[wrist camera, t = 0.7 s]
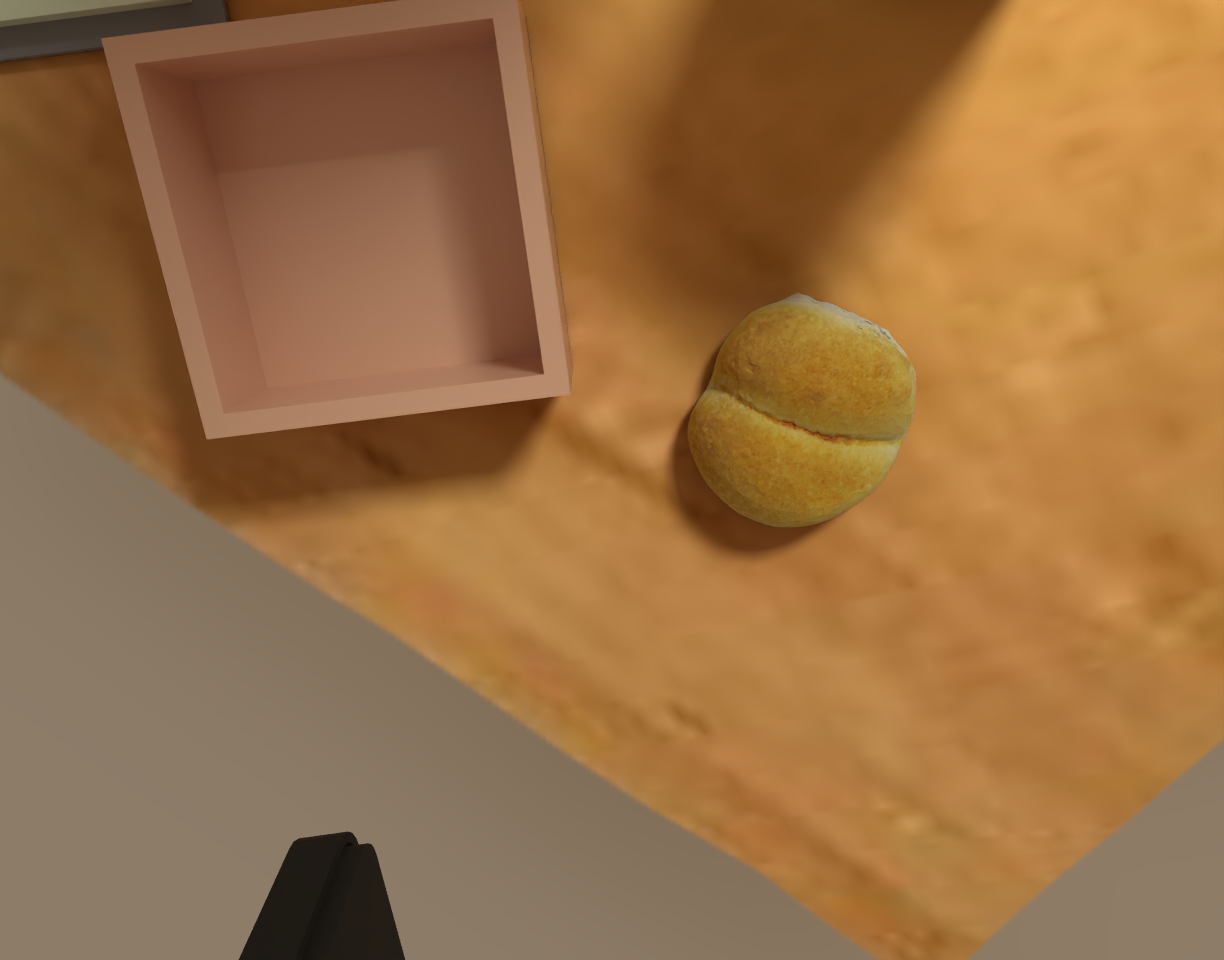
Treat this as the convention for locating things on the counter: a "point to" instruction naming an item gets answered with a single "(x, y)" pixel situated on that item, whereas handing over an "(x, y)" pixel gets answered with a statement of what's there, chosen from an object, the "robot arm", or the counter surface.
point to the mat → (103, 29)
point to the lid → (69, 9)
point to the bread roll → (802, 412)
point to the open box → (349, 210)
